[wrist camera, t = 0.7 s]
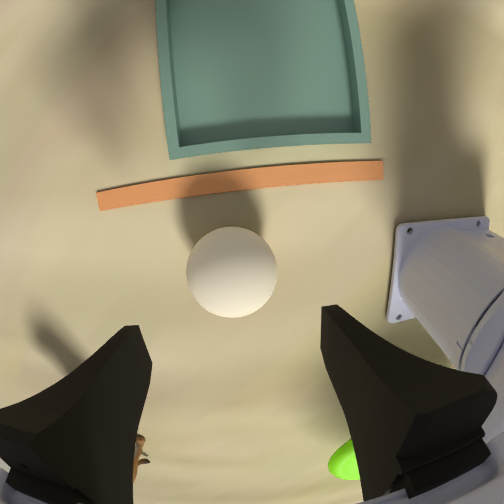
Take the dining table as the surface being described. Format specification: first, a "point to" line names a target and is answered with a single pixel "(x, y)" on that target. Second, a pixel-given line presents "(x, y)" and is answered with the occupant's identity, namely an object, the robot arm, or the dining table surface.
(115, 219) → the dining table surface
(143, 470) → the dining table surface
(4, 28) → the dining table surface
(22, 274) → the dining table surface
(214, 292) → the ball
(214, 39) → the tray
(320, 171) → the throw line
